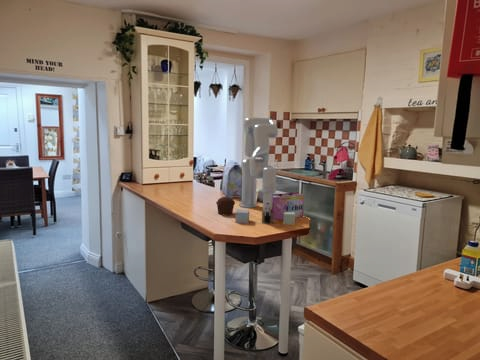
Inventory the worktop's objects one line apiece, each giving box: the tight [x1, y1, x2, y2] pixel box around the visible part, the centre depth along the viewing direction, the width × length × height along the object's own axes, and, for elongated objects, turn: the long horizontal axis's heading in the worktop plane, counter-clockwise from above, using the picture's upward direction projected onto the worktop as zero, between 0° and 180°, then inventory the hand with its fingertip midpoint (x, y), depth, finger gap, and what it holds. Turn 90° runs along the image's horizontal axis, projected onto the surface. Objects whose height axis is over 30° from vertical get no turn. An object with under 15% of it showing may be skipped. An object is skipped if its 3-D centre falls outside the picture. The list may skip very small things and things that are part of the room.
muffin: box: [215, 196, 236, 216], centre depth 219 cm, size 12×11×10 cm
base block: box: [234, 209, 250, 224], centre depth 202 cm, size 7×7×6 cm
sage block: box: [282, 211, 296, 226], centre depth 202 cm, size 6×6×6 cm
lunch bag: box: [221, 159, 242, 199], centre depth 274 cm, size 22×17×26 cm
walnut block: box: [261, 209, 274, 225], centre depth 203 cm, size 6×6×6 cm
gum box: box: [271, 192, 305, 221], centre depth 215 cm, size 24×8×14 cm, turn 119°
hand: (267, 220), depth 203 cm, fingers closed on walnut block, 6 cm apart
